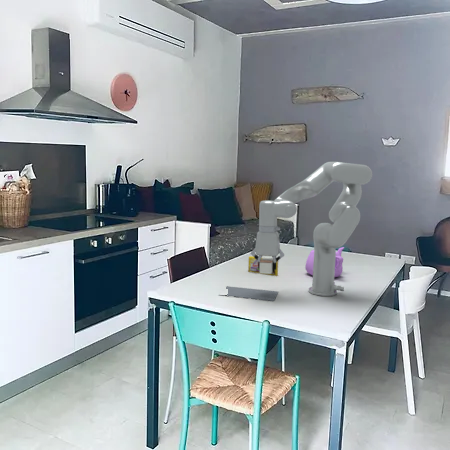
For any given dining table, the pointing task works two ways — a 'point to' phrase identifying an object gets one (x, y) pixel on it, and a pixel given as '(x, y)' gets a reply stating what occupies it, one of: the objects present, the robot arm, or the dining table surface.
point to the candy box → (254, 266)
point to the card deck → (266, 265)
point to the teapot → (337, 263)
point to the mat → (252, 293)
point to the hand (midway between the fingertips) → (267, 270)
